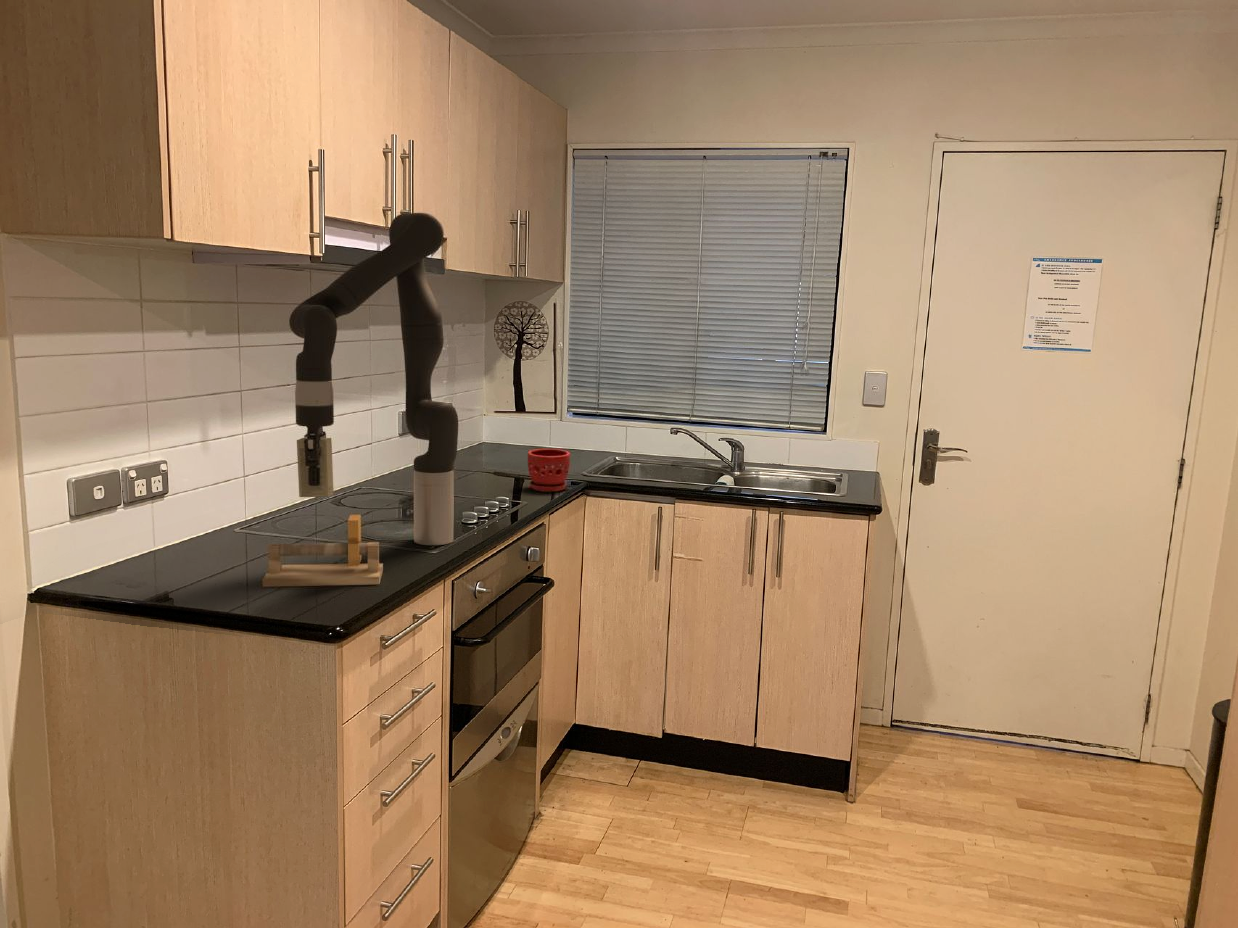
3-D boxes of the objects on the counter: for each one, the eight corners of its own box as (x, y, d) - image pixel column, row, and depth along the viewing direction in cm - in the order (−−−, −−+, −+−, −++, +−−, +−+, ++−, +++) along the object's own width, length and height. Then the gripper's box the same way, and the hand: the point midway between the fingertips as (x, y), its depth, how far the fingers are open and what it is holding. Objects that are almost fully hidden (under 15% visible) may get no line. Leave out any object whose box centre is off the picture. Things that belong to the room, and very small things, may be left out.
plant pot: (519, 487, 284) (519, 450, 282) (554, 484, 292) (555, 447, 290) (541, 495, 274) (542, 456, 272) (577, 491, 282) (578, 453, 280)
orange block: (351, 558, 186) (350, 514, 185) (361, 558, 187) (360, 514, 185) (348, 566, 181) (347, 520, 180) (358, 566, 181) (358, 520, 180)
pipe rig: (272, 572, 186) (271, 529, 185) (382, 570, 190) (382, 528, 189) (262, 586, 177) (261, 541, 175) (379, 584, 181) (378, 540, 179)
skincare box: (334, 494, 193) (333, 437, 191) (328, 498, 189) (327, 440, 187) (303, 493, 193) (302, 436, 191) (297, 497, 189) (296, 439, 187)
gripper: (328, 406, 182) (330, 489, 184) (337, 399, 196) (338, 477, 198) (289, 405, 180) (291, 489, 183) (301, 398, 194) (302, 477, 197)
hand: (316, 482), depth 191 cm, fingers closed on skincare box, 4 cm apart
